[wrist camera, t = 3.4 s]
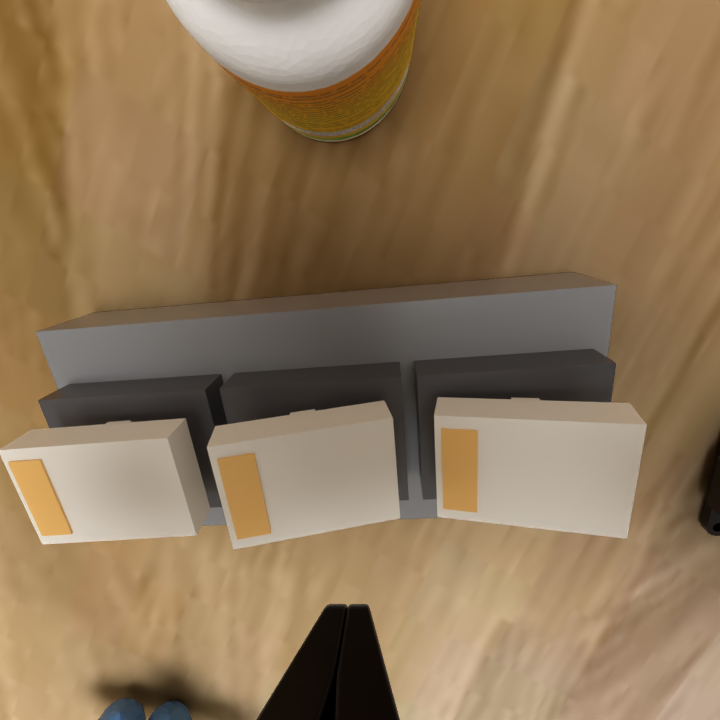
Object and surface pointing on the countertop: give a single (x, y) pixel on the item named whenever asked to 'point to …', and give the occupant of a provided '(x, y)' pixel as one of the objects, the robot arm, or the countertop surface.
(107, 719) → the grapes
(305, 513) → the middle rocker
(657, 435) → the countertop surface
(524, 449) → the block
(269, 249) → the countertop surface
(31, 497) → the far rocker
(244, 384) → the rocker switch strip
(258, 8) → the supplement bottle
